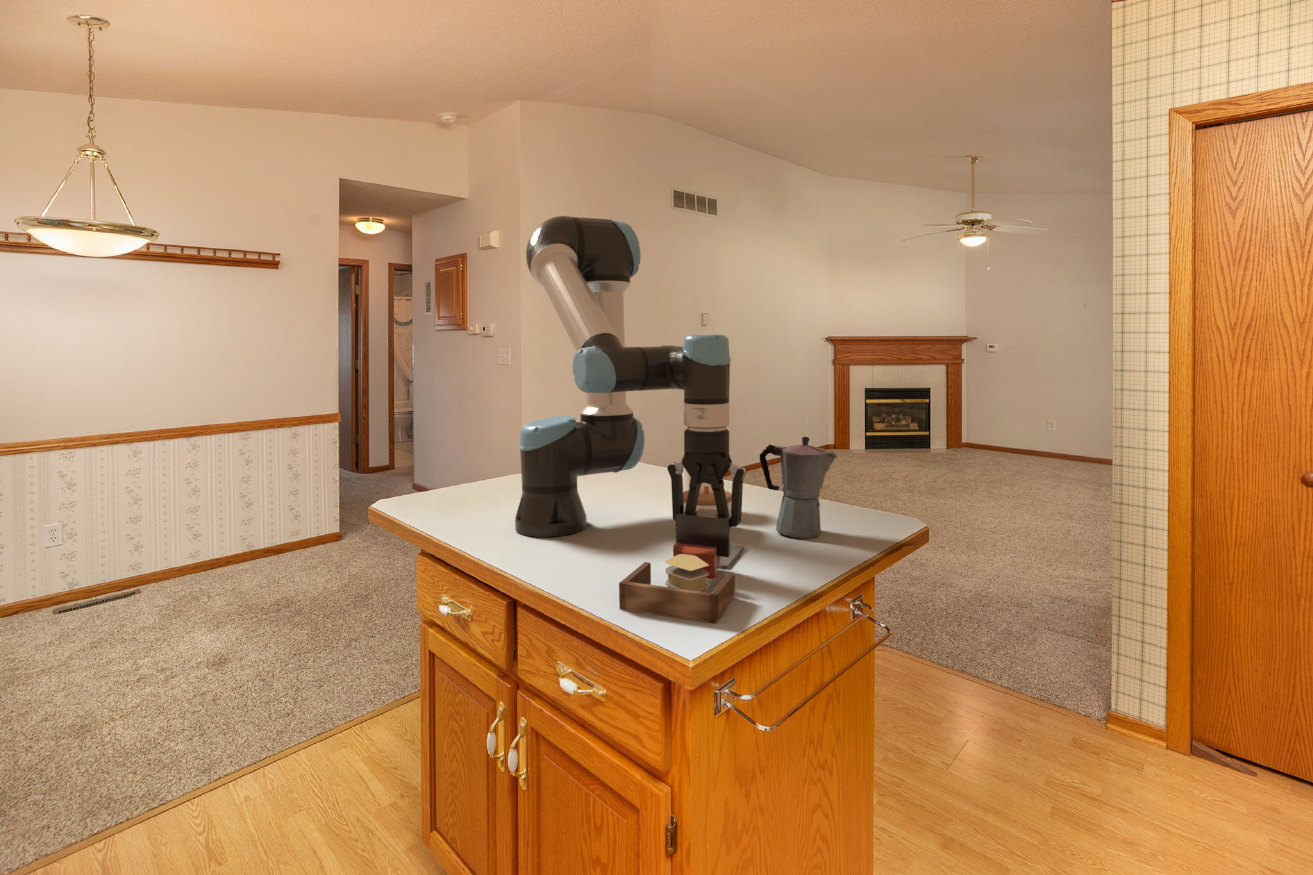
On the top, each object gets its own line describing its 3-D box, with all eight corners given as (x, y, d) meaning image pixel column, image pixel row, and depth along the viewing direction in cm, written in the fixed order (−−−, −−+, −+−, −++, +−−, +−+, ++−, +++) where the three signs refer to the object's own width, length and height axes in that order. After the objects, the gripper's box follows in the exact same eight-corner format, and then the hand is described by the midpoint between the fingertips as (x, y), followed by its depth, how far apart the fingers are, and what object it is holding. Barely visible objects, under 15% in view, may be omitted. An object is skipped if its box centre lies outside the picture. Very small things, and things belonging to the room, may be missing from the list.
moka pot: (836, 541, 130) (839, 441, 127) (757, 538, 133) (758, 439, 130) (833, 528, 139) (836, 433, 136) (759, 525, 142) (760, 432, 139)
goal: (619, 608, 99) (619, 583, 98) (645, 585, 108) (644, 561, 108) (716, 623, 93) (716, 596, 93) (734, 597, 103) (734, 572, 102)
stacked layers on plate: (729, 597, 103) (729, 563, 102) (686, 612, 98) (686, 577, 97) (687, 579, 111) (686, 548, 110) (644, 593, 105) (644, 559, 105)
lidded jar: (718, 540, 132) (718, 494, 130) (671, 533, 137) (671, 488, 136) (740, 527, 141) (741, 484, 139) (696, 520, 146) (696, 479, 145)
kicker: (667, 573, 109) (666, 520, 108) (685, 556, 118) (685, 507, 116) (721, 580, 106) (721, 525, 104) (736, 562, 114) (736, 511, 113)
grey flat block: (694, 565, 117) (694, 561, 117) (713, 546, 128) (713, 543, 128) (727, 569, 115) (727, 565, 115) (743, 549, 126) (743, 546, 126)
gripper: (650, 429, 110) (652, 564, 114) (751, 433, 104) (750, 576, 107) (666, 423, 117) (667, 551, 120) (762, 427, 111) (760, 561, 114)
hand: (706, 562), depth 114 cm, fingers closed on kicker, 4 cm apart
